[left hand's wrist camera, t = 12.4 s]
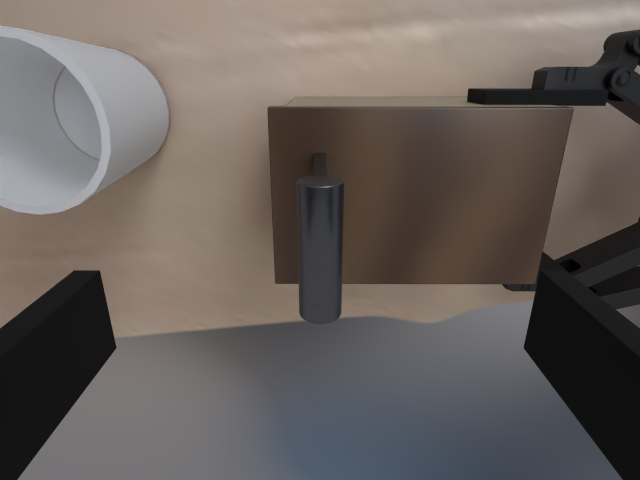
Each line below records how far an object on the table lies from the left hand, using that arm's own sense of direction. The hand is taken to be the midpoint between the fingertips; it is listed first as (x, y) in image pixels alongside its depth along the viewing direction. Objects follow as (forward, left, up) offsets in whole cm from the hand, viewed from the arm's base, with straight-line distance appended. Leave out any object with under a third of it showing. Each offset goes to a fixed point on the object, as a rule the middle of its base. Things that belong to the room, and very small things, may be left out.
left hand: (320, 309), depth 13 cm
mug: (-16, +1, -20) cm, 26 cm away
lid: (+5, +1, -11) cm, 12 cm away
